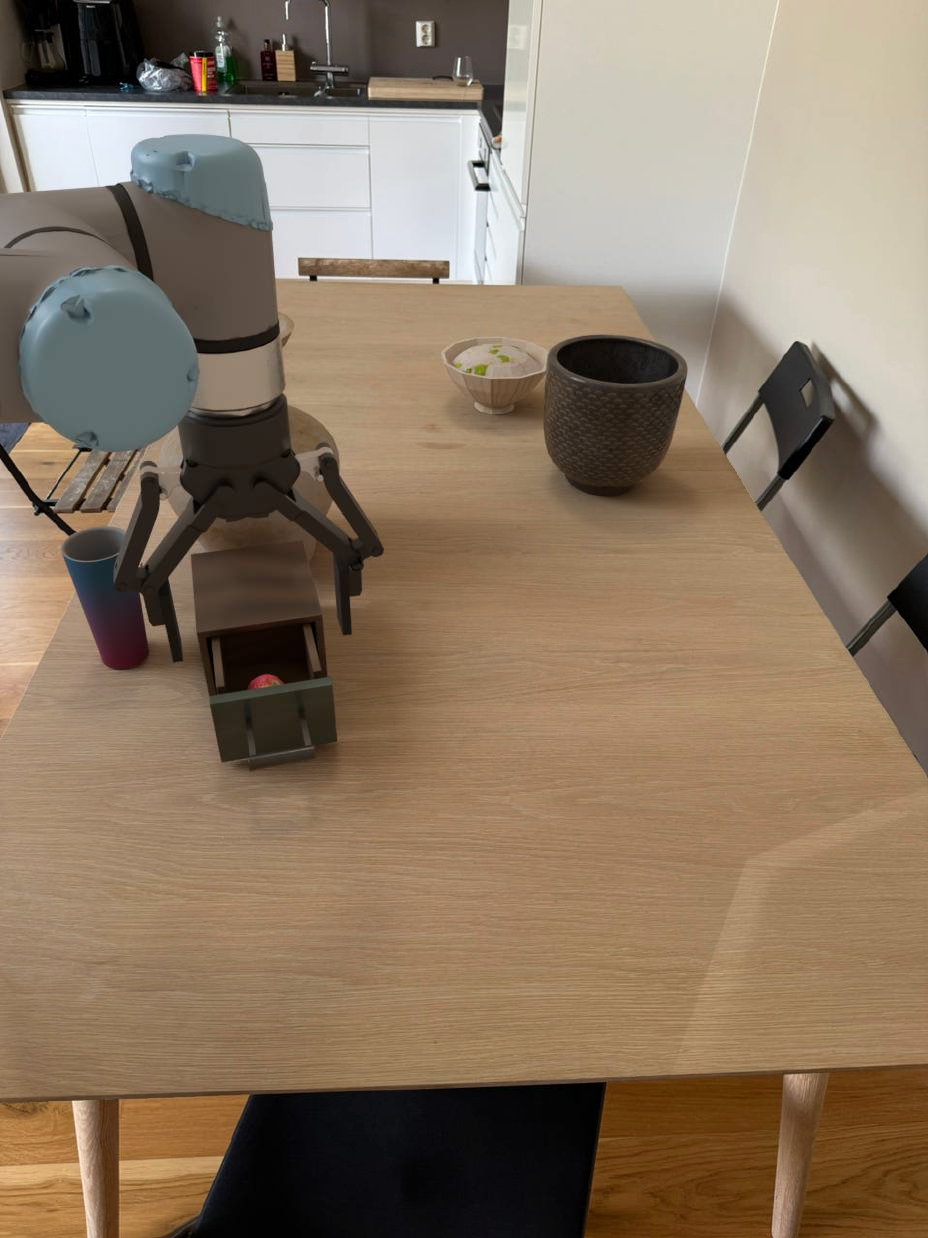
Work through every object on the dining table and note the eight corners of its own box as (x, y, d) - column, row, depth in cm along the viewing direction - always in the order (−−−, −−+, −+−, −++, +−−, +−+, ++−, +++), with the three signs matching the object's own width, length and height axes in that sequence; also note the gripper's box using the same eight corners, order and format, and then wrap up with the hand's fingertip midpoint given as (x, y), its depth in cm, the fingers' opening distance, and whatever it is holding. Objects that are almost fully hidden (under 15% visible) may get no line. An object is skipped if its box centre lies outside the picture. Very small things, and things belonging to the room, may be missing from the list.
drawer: (348, 787, 85) (344, 729, 80) (226, 811, 82) (213, 752, 77) (317, 657, 100) (312, 602, 95) (213, 674, 97) (202, 617, 92)
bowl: (431, 424, 150) (431, 367, 143) (448, 379, 165) (449, 326, 159) (545, 434, 148) (550, 376, 142) (552, 388, 163) (557, 334, 157)
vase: (249, 493, 130) (221, 283, 111) (376, 535, 122) (368, 316, 103) (140, 566, 114) (86, 336, 96) (277, 619, 106) (246, 380, 88)
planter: (577, 523, 126) (592, 396, 114) (514, 461, 140) (522, 343, 128) (691, 497, 133) (717, 374, 121) (621, 441, 147) (638, 326, 135)
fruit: (275, 685, 94) (270, 649, 91) (300, 718, 90) (296, 681, 87) (237, 700, 92) (231, 663, 89) (261, 734, 88) (256, 697, 85)
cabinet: (328, 683, 98) (322, 614, 92) (210, 703, 95) (196, 632, 89) (309, 606, 109) (302, 539, 103) (203, 621, 106) (190, 553, 100)
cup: (131, 629, 104) (102, 519, 95) (170, 651, 101) (144, 540, 92) (81, 659, 100) (46, 546, 91) (120, 683, 97) (88, 569, 88)
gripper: (396, 359, 66) (399, 590, 79) (36, 389, 60) (103, 634, 73) (422, 400, 61) (420, 641, 74) (28, 437, 54) (102, 694, 67)
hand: (262, 638), depth 73 cm, fingers open, 13 cm apart
